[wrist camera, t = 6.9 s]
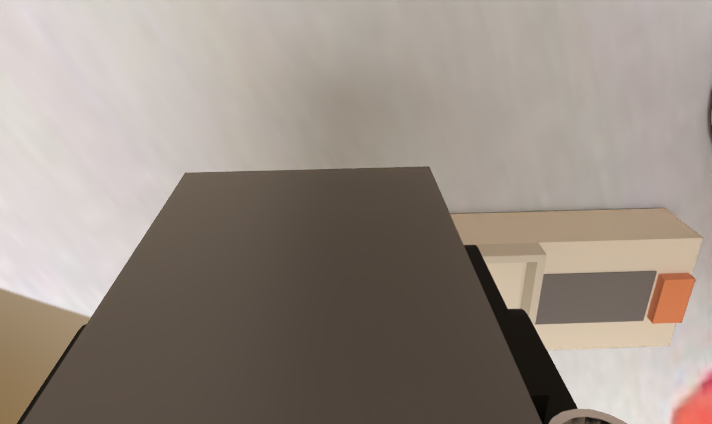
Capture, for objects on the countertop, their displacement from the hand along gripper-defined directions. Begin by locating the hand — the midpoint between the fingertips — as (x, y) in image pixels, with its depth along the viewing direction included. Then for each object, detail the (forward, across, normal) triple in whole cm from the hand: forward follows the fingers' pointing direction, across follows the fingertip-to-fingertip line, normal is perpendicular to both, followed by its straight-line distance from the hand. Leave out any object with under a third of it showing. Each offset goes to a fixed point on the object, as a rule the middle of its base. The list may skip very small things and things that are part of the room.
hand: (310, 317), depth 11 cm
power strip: (+18, -8, +11) cm, 22 cm away
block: (+2, 0, 0) cm, 2 cm away
